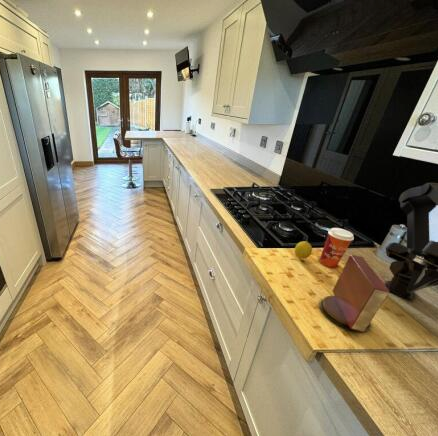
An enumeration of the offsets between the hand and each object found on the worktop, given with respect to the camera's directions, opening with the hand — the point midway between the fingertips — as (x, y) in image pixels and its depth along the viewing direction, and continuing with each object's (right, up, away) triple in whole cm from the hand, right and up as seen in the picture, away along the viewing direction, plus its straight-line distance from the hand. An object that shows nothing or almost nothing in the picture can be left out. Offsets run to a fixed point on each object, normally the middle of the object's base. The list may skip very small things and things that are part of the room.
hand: (408, 291), depth 61 cm
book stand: (-10, -9, +8) cm, 16 cm away
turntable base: (-10, -9, +8) cm, 16 cm away
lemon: (-7, +3, +33) cm, 34 cm away
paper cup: (+3, +1, +31) cm, 31 cm away
